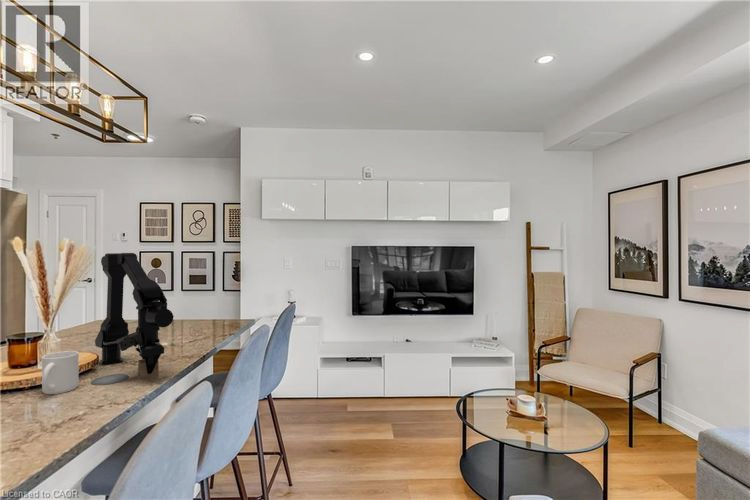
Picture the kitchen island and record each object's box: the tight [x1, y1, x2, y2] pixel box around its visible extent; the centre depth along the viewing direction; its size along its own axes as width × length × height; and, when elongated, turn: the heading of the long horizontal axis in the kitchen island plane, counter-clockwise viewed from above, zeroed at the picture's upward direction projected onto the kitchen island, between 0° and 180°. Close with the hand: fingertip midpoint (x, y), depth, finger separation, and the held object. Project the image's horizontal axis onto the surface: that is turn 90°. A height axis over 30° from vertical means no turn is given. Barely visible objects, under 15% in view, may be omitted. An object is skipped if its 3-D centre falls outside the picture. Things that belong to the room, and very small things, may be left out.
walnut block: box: [137, 358, 160, 380], centre depth 125 cm, size 5×5×5 cm
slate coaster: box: [90, 373, 130, 386], centre depth 121 cm, size 10×10×1 cm
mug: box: [41, 350, 80, 395], centre depth 111 cm, size 12×8×10 cm
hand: (148, 371), depth 125 cm, fingers closed on walnut block, 5 cm apart
